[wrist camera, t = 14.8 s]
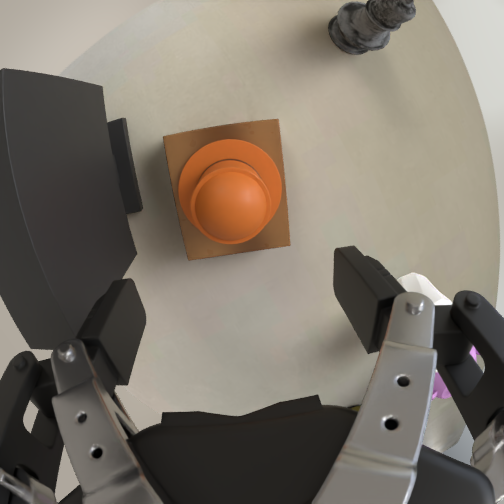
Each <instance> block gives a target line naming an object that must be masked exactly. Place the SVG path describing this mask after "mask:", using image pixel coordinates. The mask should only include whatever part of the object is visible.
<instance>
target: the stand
mask: <svg viewBox="0 0 504 504" xmlns="http://www.w3.org/2000/svg"><path fill="white" fill-rule="evenodd" d="M225 139H236V140H243V141H246V142H249V143H251V144H253V145H256V146H257V147H259V148H260V149H262V150H263V151H264V152H265V153H267V154H268V156H269V157H270V158H271V159H272V160H273V162H274V163H275V165H276V167H277V169H278V171H279V174H280V178H281V183H282V194H281V200H280V204H279V206H278V209H277V211H276V213H275V215H274V216H273V217H272V219H271V220H270V221H269V222H268V223H267V224H266V225H265V226H264V228H263V229H262V230H261V231H260V233H258V234H257V235H256V236H255V237H253V238H252V239H250V240H248V241H245V242H243V243H238V244H222V243H218V242H215V241H213V240H211V239H209V238H208V237H206V236H205V235H204V234H203V233H201V232H200V230H199V229H197V228H196V227H195V226H194V225H193V224H192V223H191V222H190V221H189V220H188V218H187V217H186V215H185V214H184V212H183V209H182V207H181V204H180V201H179V195H178V186H179V179H180V176H181V173H182V170H183V168H184V166H185V165H186V163H187V161H188V160H189V159H190V158H191V156H192V155H193V154H194V153H196V152H197V151H198V150H199V149H201V148H202V147H204V146H206V145H207V144H210V143H212V142H215V141H219V140H225ZM163 140H164V146H165V152H166V158H167V163H168V169H169V174H170V179H171V184H172V189H173V194H174V199H175V204H176V209H177V213H178V218H179V223H180V227H181V232H182V236H183V240H184V244H185V249H186V253H187V257H188V260H196V259H203V258H209V257H216V256H223V255H230V254H237V253H243V252H250V251H257V250H264V249H271V248H277V247H284V246H290V233H289V220H288V207H287V196H286V185H285V174H284V164H283V154H282V145H281V135H280V127H279V119H271V120H261V121H251V122H243V123H235V124H228V125H221V126H215V127H209V128H203V129H197V130H192V131H187V132H182V133H177V134H172V135H167V136H163Z"/></svg>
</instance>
